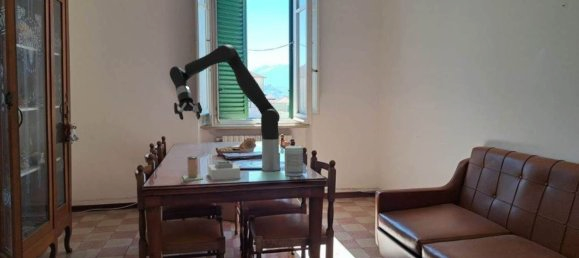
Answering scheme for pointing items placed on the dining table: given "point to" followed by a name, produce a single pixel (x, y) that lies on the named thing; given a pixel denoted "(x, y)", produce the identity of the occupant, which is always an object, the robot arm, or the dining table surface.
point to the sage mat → (193, 178)
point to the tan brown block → (192, 167)
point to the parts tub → (224, 170)
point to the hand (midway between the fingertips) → (190, 118)
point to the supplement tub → (293, 161)
